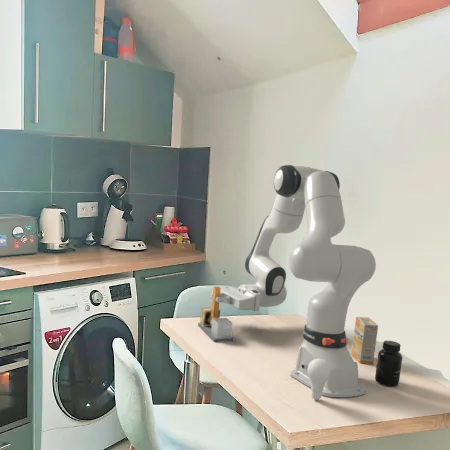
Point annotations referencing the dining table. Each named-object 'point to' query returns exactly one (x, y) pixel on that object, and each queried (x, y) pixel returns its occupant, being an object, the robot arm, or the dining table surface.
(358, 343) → the supplement box
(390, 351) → the supplement bottle
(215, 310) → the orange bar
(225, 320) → the matte gray cube
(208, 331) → the slate board
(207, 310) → the socket block
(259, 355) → the dining table surface
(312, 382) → the lightbulb
